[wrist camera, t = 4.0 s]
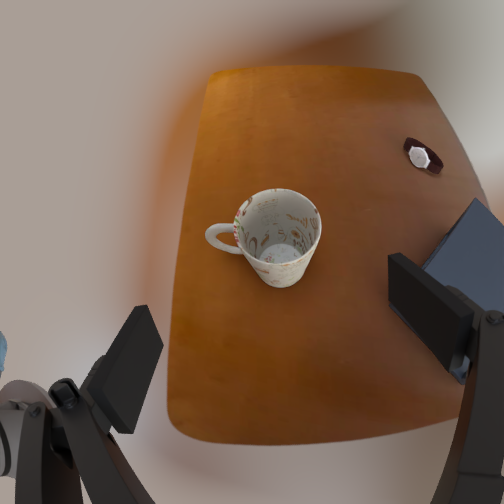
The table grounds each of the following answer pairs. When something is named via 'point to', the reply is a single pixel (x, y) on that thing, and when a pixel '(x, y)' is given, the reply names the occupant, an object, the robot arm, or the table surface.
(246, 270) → the table surface
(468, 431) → the robot arm
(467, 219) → the shelf
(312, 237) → the mug
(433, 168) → the watch
